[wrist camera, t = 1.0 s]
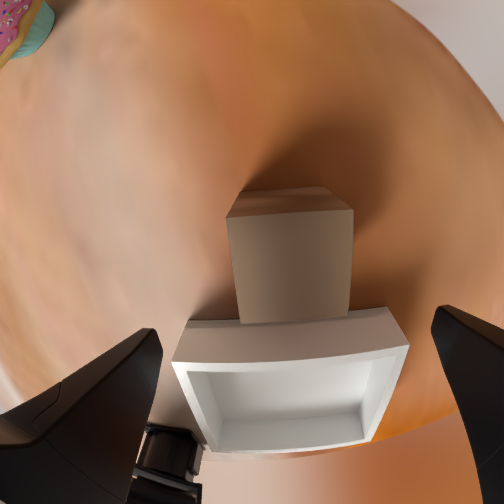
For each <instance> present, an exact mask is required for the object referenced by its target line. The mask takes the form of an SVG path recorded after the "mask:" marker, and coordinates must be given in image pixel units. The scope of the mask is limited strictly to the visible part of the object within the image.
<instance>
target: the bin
mask: <svg viewBox="0 0 504 504" xmlns="http://www.w3.org/2000/svg"><path fill="white" fill-rule="evenodd" d="M409 345H410V344H409V342H408V340H407V339H406V337H405V335H404V333H403V332H402V330H401V328H400V327H399V325H398V323H397V322H396V320H395V318H394V317H393V315H392V313H391V312H390V310H389V309H388V307H387V306H386V307H379V308H371V309H363V310H355V311H348V316H341V317H332V318H321V319H310V320H298V321H285V322H269V323H249V324H241V323H240V319H236V320H192V321H187V324H186V326H185V329H184V331H183V333H182V336H181V338H180V341H179V343H178V346H177V348H176V351H175V353H174V356H173V358H172V361H171V362H172V365H173V368H174V370H175V373H176V375H177V378H178V380H179V382H180V385H181V387H182V390H183V392H184V394H185V397H186V399H187V401H188V403H189V406H190V408H191V410H192V412H193V414H194V417H195V419H196V421H197V423H198V425H199V427H200V429H201V431H202V433H203V435H204V437H205V439H206V441H207V443H208V445H209V447H210V449H211V451H212V452H223V453H286V452H301V451H312V450H321V449H328V448H336V447H342V446H348V445H354V444H359V443H364V442H369V441H371V439H372V437H373V435H374V433H375V431H376V429H377V427H378V425H379V423H380V421H381V419H382V416H383V414H384V412H385V410H386V407H387V405H388V403H389V400H390V398H391V396H392V393H393V391H394V388H395V386H396V383H397V380H398V378H399V375H400V372H401V369H402V367H403V364H404V361H405V358H406V355H407V352H408V348H409Z"/></svg>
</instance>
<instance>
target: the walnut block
mask: <svg viewBox="0 0 504 504" xmlns="http://www.w3.org/2000/svg"><path fill="white" fill-rule="evenodd" d="M226 223H227V231H228V239H229V246H230V253H231V261H232V268H233V275H234V282H235V289H236V296H237V303H238V310H239V316H240V323H241V324H249V323H269V322H285V321H298V320H310V319H321V318H332V317H341V316H348V309H349V299H350V287H351V273H352V255H353V225H354V209H353V208H351V207H350V206H349V205H348V204H346V203H345V202H344V201H343V200H341V199H340V198H339V197H338V196H336V195H335V194H334V193H332V192H331V191H330V190H328V189H327V188H326V187H325V186H316V187H297V188H281V189H268V190H255V191H244V192H240V193H239V195H238V197H237V198H236V200H235V202H234V204H233V206H232V208H231V209H230V211H229V213H228V215H227V217H226Z"/></svg>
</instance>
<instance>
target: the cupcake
mask: <svg viewBox="0 0 504 504" xmlns="http://www.w3.org/2000/svg"><path fill="white" fill-rule="evenodd" d="M54 19H55V14H54V11H53V10H52V9H51V8H50V7H49V5H48V4H47V3H46V1H45V0H0V69H1V68H2V67H3V66H4V65H5V64H6V63H7V62H8V61H9V60H12V59H15V58H19V57H24V56H28V55H30V54H32V53H34V52H35V51H36V50H37V49H38V48H39V47H40V46H41V45H42V44H43V42H44V41H45V40H46V38H47V37H48V35H49V33H50V31H51V29H52V27H53V24H54Z"/></svg>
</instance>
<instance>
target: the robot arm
mask: <svg viewBox="0 0 504 504" xmlns="http://www.w3.org/2000/svg"><path fill="white" fill-rule="evenodd" d="M431 334H432V337H433V340H434V343H435V345H436V348H437V351H438V354H439V357H440V361H441V364H442V367H443V370H444V372H445V375H446V377H447V380H448V382H449V384H450V387H451V389H452V392H453V395H454V397H455V400H456V403H457V405H458V408H459V411H460V414H461V416H462V420H463V422H464V426H465V429H466V432H467V435H468V438H469V442H470V445H471V449H472V452H473V456H474V460H475V464H476V468H477V473H478V477H479V483H480V488H481V493H482V499H483V504H504V330H503V329H501V328H499V327H497V326H495V325H493V324H490V323H488V322H486V321H484V320H482V319H480V318H477V317H475V316H473V315H471V314H468V313H466V312H464V311H462V310H460V309H457V308H455V307H453V306H451V305H442V306H439V307H437V309H436V311H435V315H434V318H433V322H432V325H431ZM162 357H163V349H162V346H161V343H160V340H159V337H158V334H157V332H156V330H155V329H153V328H142V329H140V330H139V331H137V332H136V333H134V334H133V335H131V336H130V337H128V338H127V339H125V340H124V341H122V342H120V343H119V344H117V345H116V346H114V347H113V348H111V349H110V350H108V351H107V352H105V353H104V354H102V355H100V356H99V357H97V358H96V359H94V360H93V361H91V362H90V363H88V364H87V365H85V366H83V367H82V368H80V369H79V370H77V371H76V372H74V373H73V374H71V375H70V376H68V377H66V378H65V379H63V380H62V382H59V383H57V384H56V385H54V386H52V387H51V388H49V389H48V390H46V391H44V392H43V393H41V394H39V395H38V396H36V397H34V398H32V399H30V400H28V401H27V402H25V403H23V404H21V405H19V406H17V407H15V408H13V409H11V410H9V411H7V412H5V413H3V414H1V415H0V504H201V499H202V484H200V483H194V482H193V478H194V476H197V475H198V474H199V470H200V464H201V459H202V454H203V449H202V448H201V446H200V444H199V442H198V441H197V440H196V438H195V436H194V434H193V432H192V431H190V430H184V429H175V428H168V427H161V426H155V425H149V424H147V420H148V417H149V414H150V410H151V407H152V404H153V400H154V397H155V393H156V388H157V383H158V377H159V372H160V367H161V362H162ZM144 431H145V432H146V433H147V435H146V438H145V441H144V444H143V446H142V449H141V452H140V455H139V458H138V461H137V464H136V460H137V456H138V452H139V448H140V445H141V441H142V438H143V434H144ZM132 475H133V476H136V477H137V479H136V478H133V477H132Z"/></svg>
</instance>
